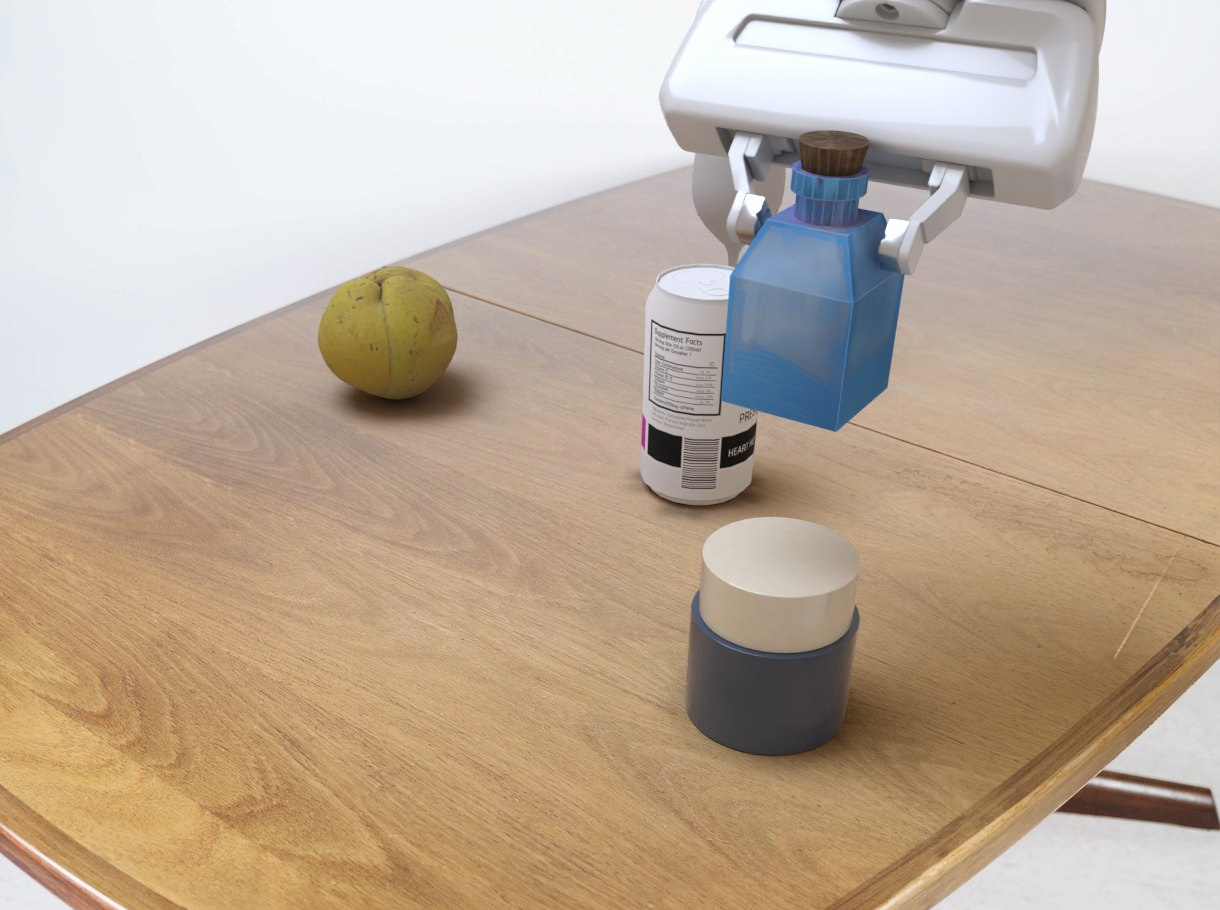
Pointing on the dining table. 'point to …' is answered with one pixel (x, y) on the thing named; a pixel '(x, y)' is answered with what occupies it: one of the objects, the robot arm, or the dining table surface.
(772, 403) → the perfume bottle
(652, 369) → the supplement can
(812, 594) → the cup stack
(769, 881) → the dining table surface
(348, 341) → the fruit
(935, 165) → the robot arm
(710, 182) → the wineglass
